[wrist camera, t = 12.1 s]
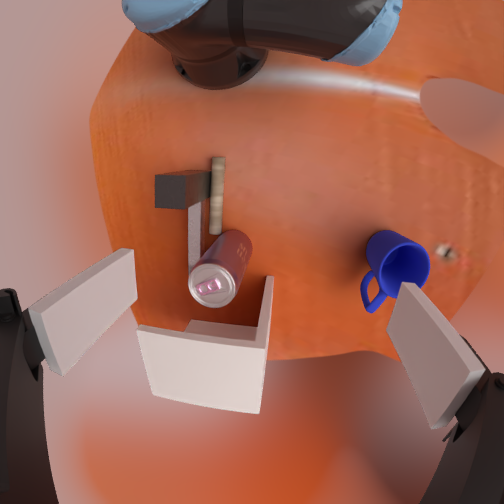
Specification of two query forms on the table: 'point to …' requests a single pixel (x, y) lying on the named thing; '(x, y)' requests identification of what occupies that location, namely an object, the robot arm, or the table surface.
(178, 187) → the grey angled piece
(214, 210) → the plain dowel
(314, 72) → the table surface
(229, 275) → the beverage can
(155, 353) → the corner shelf
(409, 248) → the mug
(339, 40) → the robot arm
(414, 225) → the table surface
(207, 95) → the table surface
